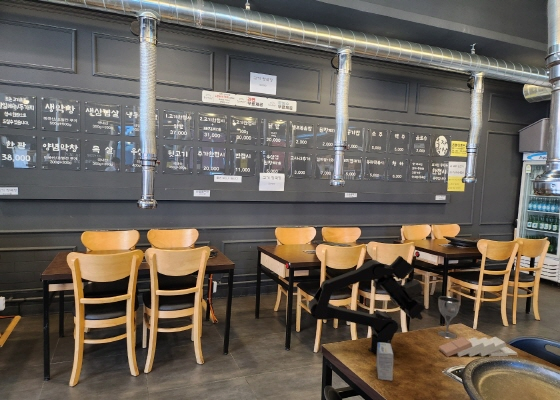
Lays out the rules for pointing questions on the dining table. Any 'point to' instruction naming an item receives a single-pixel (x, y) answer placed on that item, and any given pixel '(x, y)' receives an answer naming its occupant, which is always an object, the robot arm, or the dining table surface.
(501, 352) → the domino
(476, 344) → the domino
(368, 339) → the dining table surface
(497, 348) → the domino
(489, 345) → the domino
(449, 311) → the wine glass
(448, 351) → the domino
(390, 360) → the medicine box
